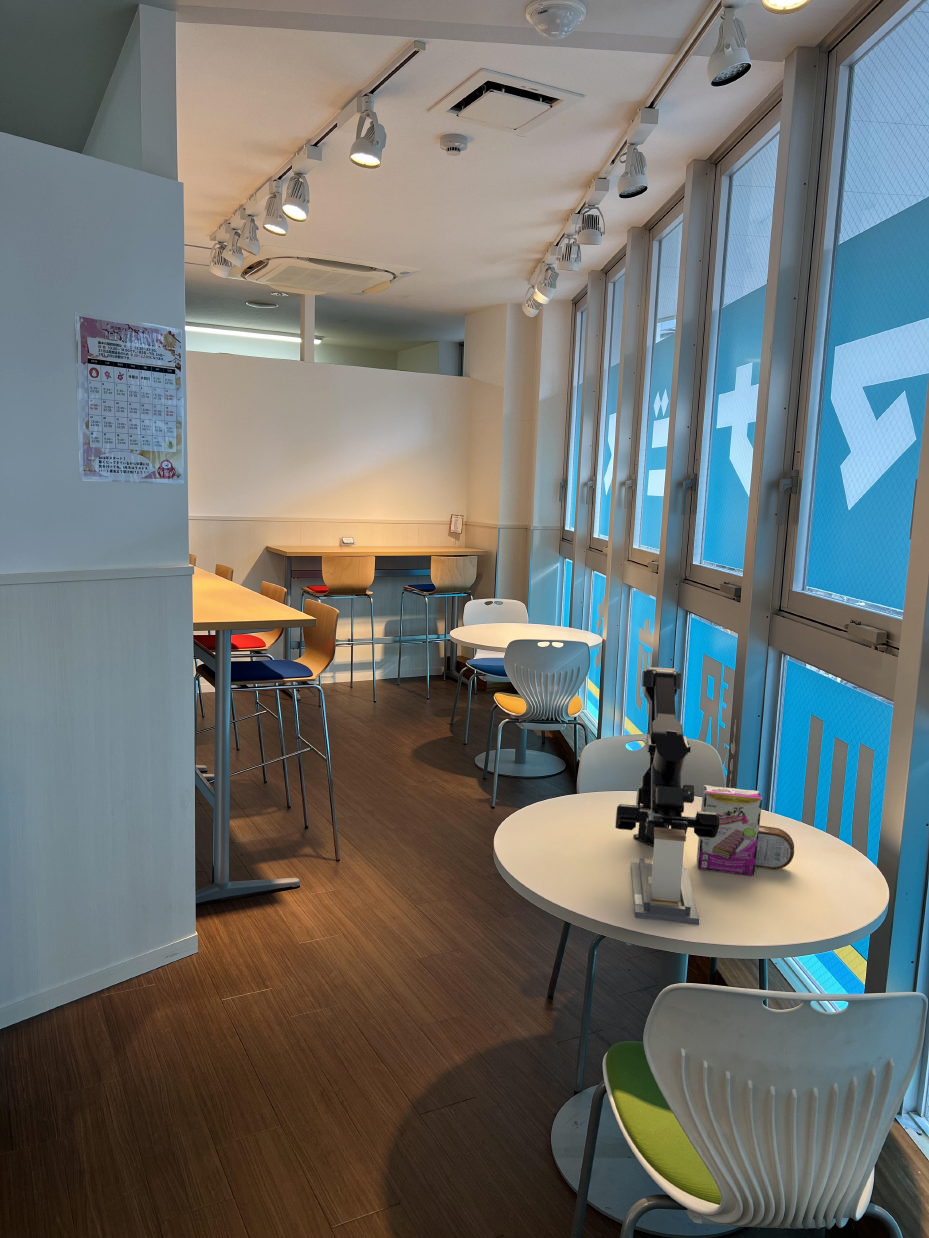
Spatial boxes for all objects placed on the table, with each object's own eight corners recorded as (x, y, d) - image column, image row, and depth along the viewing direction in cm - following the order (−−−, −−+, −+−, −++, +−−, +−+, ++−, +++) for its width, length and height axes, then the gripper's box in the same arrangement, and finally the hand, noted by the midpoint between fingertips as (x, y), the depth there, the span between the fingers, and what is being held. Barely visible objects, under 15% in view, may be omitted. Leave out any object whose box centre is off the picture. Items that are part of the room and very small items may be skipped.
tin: (792, 867, 175) (796, 828, 173) (793, 874, 172) (797, 834, 170) (715, 855, 179) (718, 818, 177) (715, 862, 176) (718, 823, 174)
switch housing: (630, 866, 172) (631, 854, 172) (686, 872, 170) (687, 860, 170) (635, 917, 150) (635, 903, 150) (699, 924, 149) (700, 910, 148)
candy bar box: (697, 870, 171) (704, 791, 169) (696, 860, 176) (702, 784, 174) (756, 877, 169) (763, 797, 167) (752, 867, 174) (759, 789, 172)
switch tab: (649, 892, 157) (654, 827, 156) (679, 895, 156) (684, 830, 155) (650, 899, 154) (655, 833, 153) (680, 902, 153) (686, 836, 152)
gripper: (620, 762, 161) (617, 840, 151) (722, 771, 158) (726, 851, 148) (616, 789, 169) (613, 865, 160) (713, 798, 167) (716, 875, 157)
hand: (666, 863), depth 156 cm, fingers closed, pressing on switch tab
